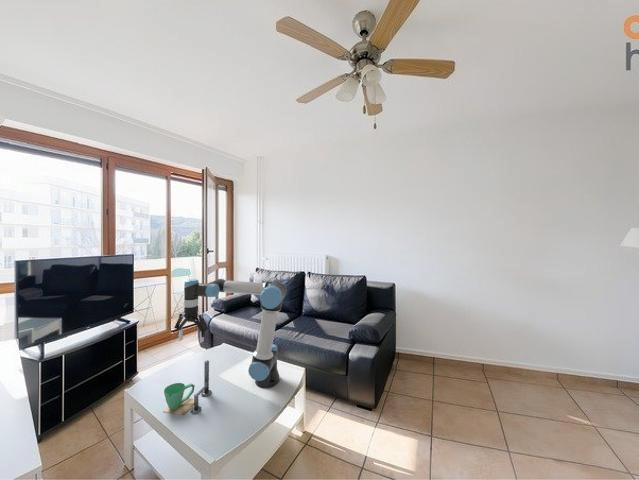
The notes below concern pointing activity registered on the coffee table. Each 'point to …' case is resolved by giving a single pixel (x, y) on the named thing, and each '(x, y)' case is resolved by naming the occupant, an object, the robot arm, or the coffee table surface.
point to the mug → (176, 394)
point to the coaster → (182, 407)
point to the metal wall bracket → (205, 388)
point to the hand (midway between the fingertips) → (191, 341)
